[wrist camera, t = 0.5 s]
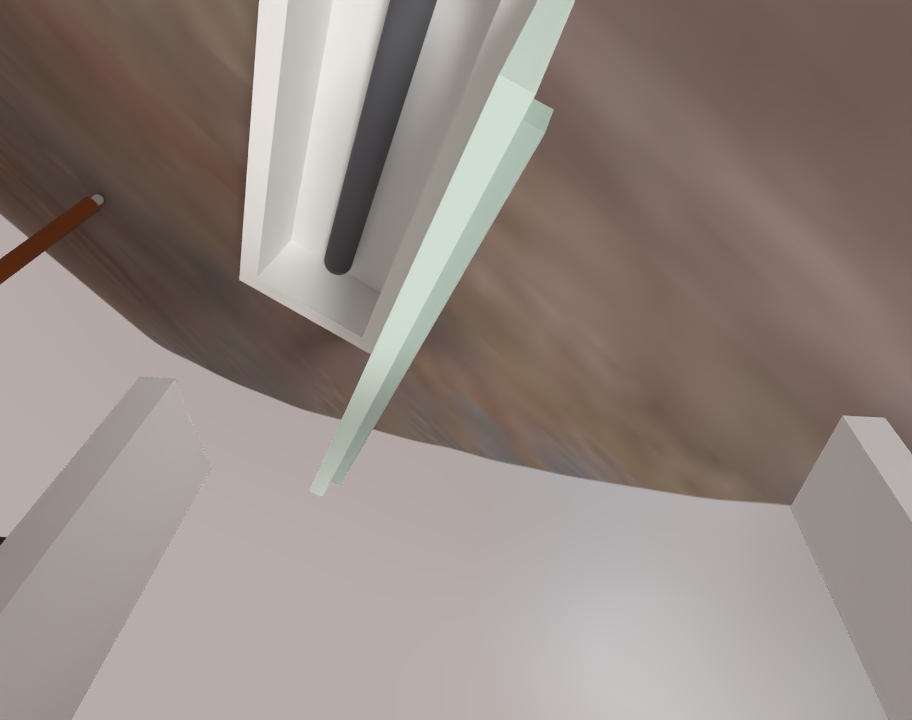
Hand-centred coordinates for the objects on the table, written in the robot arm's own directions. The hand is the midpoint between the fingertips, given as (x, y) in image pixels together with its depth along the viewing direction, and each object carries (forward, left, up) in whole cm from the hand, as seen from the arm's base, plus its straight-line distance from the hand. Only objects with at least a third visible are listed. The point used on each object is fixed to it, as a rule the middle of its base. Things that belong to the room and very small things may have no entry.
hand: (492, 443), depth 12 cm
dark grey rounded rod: (+9, -10, -19) cm, 23 cm away
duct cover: (+9, -4, -10) cm, 14 cm away
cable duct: (+9, -10, -20) cm, 23 cm away
